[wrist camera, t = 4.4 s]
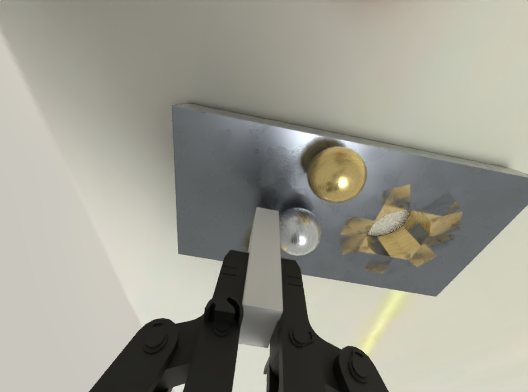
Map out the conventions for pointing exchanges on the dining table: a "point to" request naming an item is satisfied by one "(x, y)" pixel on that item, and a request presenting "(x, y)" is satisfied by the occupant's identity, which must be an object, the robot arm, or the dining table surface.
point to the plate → (337, 214)
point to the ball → (337, 174)
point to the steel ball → (299, 231)
